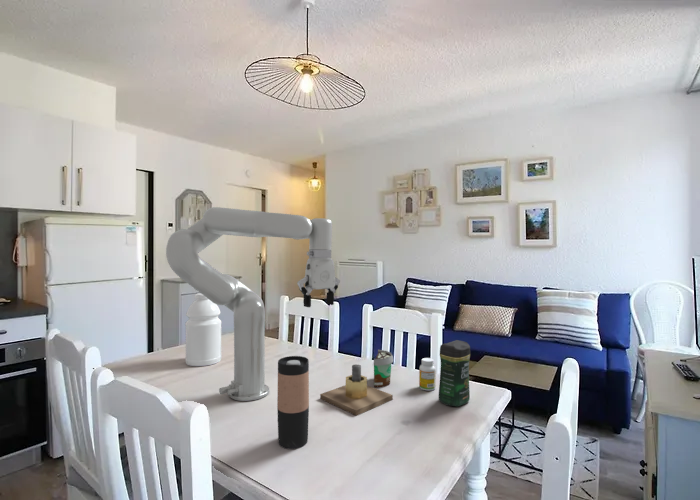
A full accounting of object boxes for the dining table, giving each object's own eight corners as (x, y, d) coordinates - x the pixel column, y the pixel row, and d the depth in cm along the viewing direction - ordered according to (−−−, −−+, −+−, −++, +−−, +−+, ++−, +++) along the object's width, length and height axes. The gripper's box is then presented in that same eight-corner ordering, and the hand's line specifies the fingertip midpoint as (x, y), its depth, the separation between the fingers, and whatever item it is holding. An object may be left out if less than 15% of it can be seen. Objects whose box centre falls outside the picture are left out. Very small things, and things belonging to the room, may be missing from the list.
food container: (391, 390, 124) (391, 360, 124) (373, 388, 126) (373, 359, 126) (394, 377, 137) (395, 350, 136) (378, 376, 138) (378, 349, 138)
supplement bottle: (423, 383, 130) (423, 356, 130) (438, 387, 127) (438, 358, 127) (416, 388, 126) (416, 360, 126) (431, 392, 123) (431, 363, 123)
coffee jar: (457, 410, 110) (457, 347, 110) (434, 401, 116) (435, 341, 115) (474, 401, 116) (474, 341, 116) (451, 393, 122) (452, 336, 122)
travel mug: (279, 434, 95) (279, 356, 95) (309, 432, 96) (309, 355, 96) (275, 450, 88) (275, 365, 88) (308, 449, 88) (308, 365, 88)
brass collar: (356, 400, 112) (356, 384, 112) (341, 394, 117) (341, 378, 117) (371, 394, 117) (371, 378, 117) (356, 388, 122) (356, 373, 122)
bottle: (208, 354, 164) (208, 290, 164) (228, 360, 156) (228, 293, 156) (178, 362, 153) (178, 294, 152) (197, 369, 144) (197, 297, 144)
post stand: (356, 415, 106) (356, 378, 106) (320, 398, 117) (320, 365, 117) (392, 399, 117) (392, 366, 117) (356, 385, 128) (356, 355, 128)
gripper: (305, 255, 118) (304, 309, 118) (346, 255, 130) (345, 304, 130) (292, 254, 124) (291, 306, 124) (332, 254, 135) (331, 302, 135)
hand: (318, 305), depth 127 cm, fingers open, 9 cm apart
